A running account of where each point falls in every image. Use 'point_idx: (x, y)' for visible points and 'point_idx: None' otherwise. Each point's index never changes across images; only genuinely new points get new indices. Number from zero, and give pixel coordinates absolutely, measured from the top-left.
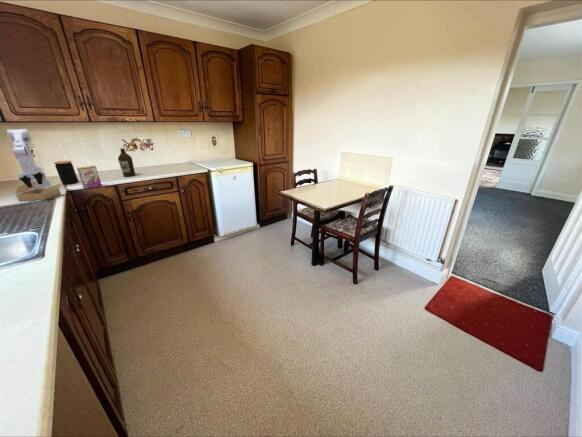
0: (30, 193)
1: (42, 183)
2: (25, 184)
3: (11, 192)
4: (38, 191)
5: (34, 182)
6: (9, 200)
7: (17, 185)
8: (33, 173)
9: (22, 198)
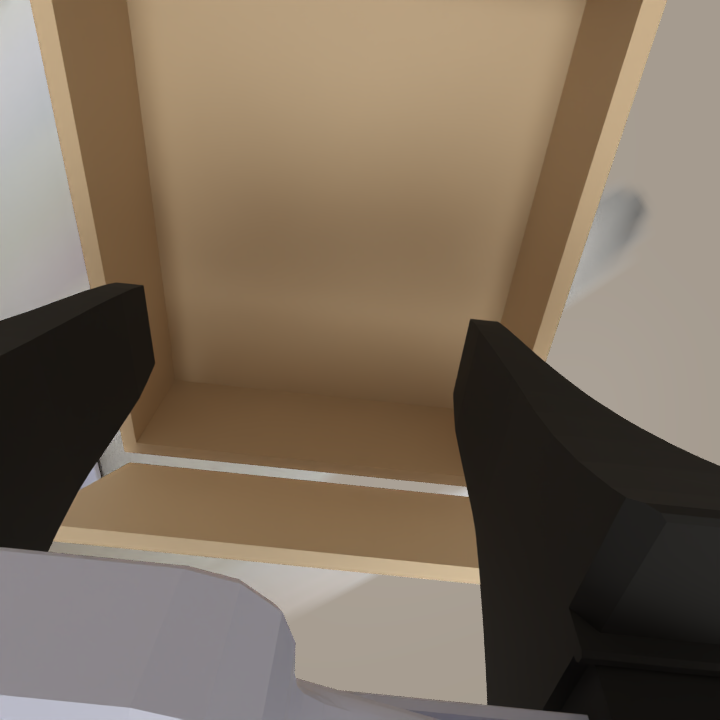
0: (277, 422)
1: (104, 286)
2: (330, 544)
3: None
4: (154, 385)
5: (85, 512)
6: None
7: None
8: (301, 692)
9: None
